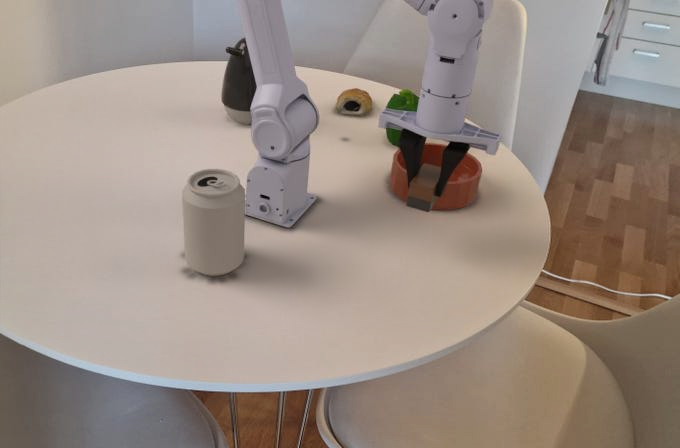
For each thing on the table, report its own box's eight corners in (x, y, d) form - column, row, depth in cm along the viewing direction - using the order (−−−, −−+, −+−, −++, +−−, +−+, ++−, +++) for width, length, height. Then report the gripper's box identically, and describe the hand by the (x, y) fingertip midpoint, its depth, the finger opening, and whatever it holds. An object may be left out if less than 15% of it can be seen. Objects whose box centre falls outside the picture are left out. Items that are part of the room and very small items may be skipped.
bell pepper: (416, 130, 118) (425, 78, 112) (435, 150, 111) (445, 95, 106) (373, 133, 116) (380, 79, 111) (389, 153, 110) (397, 98, 104)
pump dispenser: (209, 116, 120) (207, 35, 111) (251, 103, 126) (253, 25, 117) (245, 135, 113) (246, 50, 105) (287, 120, 119) (291, 39, 111)
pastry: (342, 96, 130) (344, 78, 128) (375, 101, 129) (377, 83, 127) (333, 114, 123) (335, 95, 121) (369, 119, 121) (371, 100, 119)
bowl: (464, 219, 93) (470, 192, 90) (377, 195, 98) (381, 168, 95) (484, 180, 103) (490, 155, 100) (404, 160, 108) (408, 136, 105)
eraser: (428, 212, 81) (433, 188, 79) (405, 206, 82) (410, 182, 80) (441, 192, 85) (446, 168, 83) (419, 186, 86) (424, 162, 84)
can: (213, 238, 87) (212, 158, 80) (256, 260, 83) (258, 178, 76) (172, 262, 82) (167, 180, 75) (215, 287, 78) (214, 203, 71)
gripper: (515, 91, 76) (489, 191, 83) (397, 67, 81) (383, 162, 88) (503, 111, 70) (477, 216, 78) (378, 84, 76) (364, 184, 83)
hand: (426, 189), depth 83 cm, fingers closed on eraser, 3 cm apart
